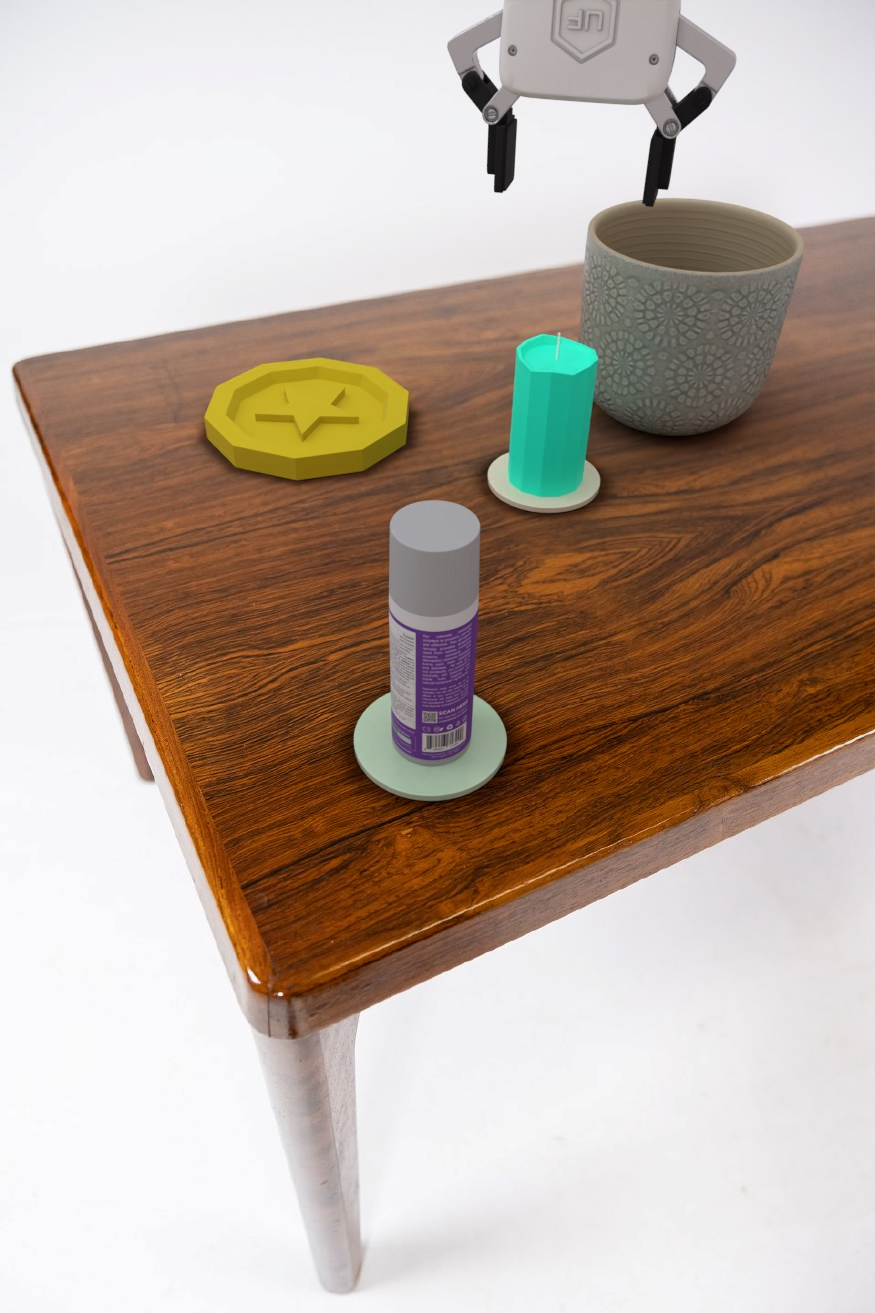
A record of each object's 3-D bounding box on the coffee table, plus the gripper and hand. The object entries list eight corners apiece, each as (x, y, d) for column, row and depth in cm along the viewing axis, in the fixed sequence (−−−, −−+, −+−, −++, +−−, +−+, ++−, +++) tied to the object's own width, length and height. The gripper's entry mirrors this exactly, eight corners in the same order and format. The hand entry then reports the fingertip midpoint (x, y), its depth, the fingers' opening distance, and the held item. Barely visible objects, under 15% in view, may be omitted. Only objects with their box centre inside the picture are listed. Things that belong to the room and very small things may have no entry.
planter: (779, 390, 93) (825, 218, 83) (731, 477, 82) (776, 290, 72) (606, 350, 99) (629, 185, 89) (539, 426, 88) (555, 247, 77)
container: (479, 717, 61) (492, 507, 51) (459, 774, 57) (469, 560, 47) (404, 701, 62) (403, 491, 52) (381, 756, 58) (374, 543, 48)
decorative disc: (435, 460, 83) (435, 439, 82) (219, 491, 79) (216, 468, 78) (385, 370, 95) (385, 349, 94) (196, 392, 91) (193, 371, 90)
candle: (496, 463, 82) (505, 320, 74) (565, 452, 84) (581, 311, 76) (523, 502, 78) (535, 356, 70) (594, 490, 79) (615, 345, 71)
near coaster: (520, 705, 62) (521, 700, 62) (486, 816, 56) (487, 810, 55) (380, 677, 64) (380, 671, 64) (332, 782, 57) (331, 776, 57)
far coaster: (607, 461, 84) (608, 456, 83) (590, 521, 77) (590, 516, 77) (500, 445, 85) (501, 440, 85) (475, 502, 79) (475, 497, 78)
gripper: (434, -140, 54) (432, 199, 65) (768, -131, 50) (706, 224, 62) (468, -148, 59) (461, 166, 70) (772, -140, 56) (714, 188, 67)
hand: (576, 193), depth 66 cm, fingers open, 9 cm apart
